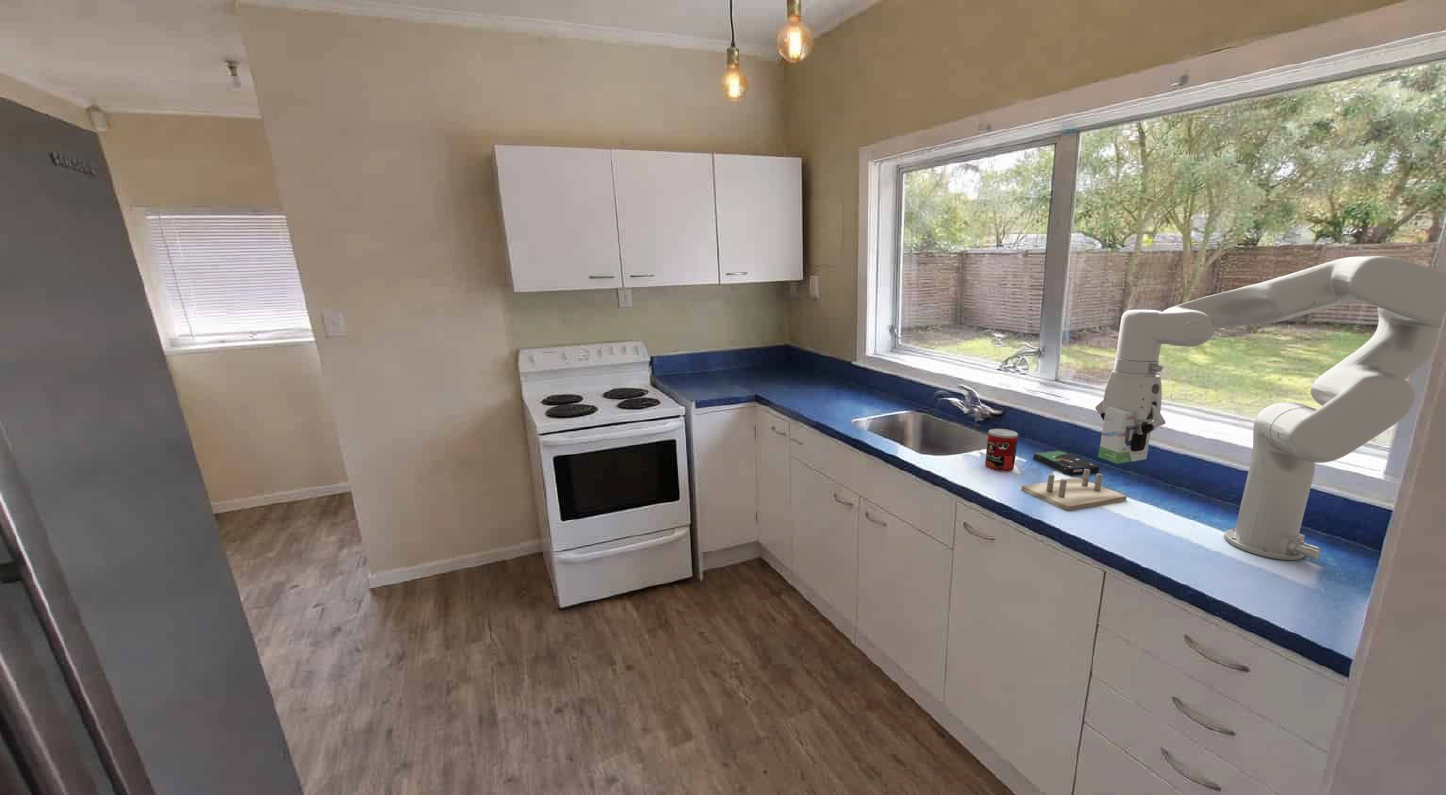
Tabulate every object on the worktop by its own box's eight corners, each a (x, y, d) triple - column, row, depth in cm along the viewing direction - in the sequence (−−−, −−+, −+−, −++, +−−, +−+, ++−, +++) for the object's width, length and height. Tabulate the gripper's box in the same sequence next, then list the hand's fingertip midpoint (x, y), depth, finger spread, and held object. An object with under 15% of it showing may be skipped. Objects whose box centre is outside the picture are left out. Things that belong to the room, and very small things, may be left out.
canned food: (979, 464, 171) (982, 429, 168) (1000, 461, 173) (1004, 427, 171) (998, 473, 164) (1002, 437, 161) (1019, 470, 166) (1024, 434, 164)
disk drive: (1099, 475, 164) (1060, 458, 178) (1100, 466, 163) (1061, 449, 177) (1068, 477, 162) (1031, 460, 176) (1069, 468, 161) (1032, 451, 175)
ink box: (1126, 453, 130) (1133, 404, 128) (1147, 460, 125) (1155, 409, 123) (1096, 457, 128) (1103, 407, 125) (1117, 464, 123) (1125, 412, 121)
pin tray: (1126, 500, 144) (1129, 479, 143) (1067, 511, 138) (1070, 489, 137) (1077, 481, 157) (1080, 462, 156) (1021, 490, 151) (1024, 470, 150)
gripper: (1190, 372, 115) (1176, 456, 119) (1110, 360, 131) (1100, 434, 135) (1164, 375, 113) (1150, 460, 117) (1086, 362, 129) (1076, 438, 133)
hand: (1124, 445), depth 126 cm, fingers closed on ink box, 5 cm apart
